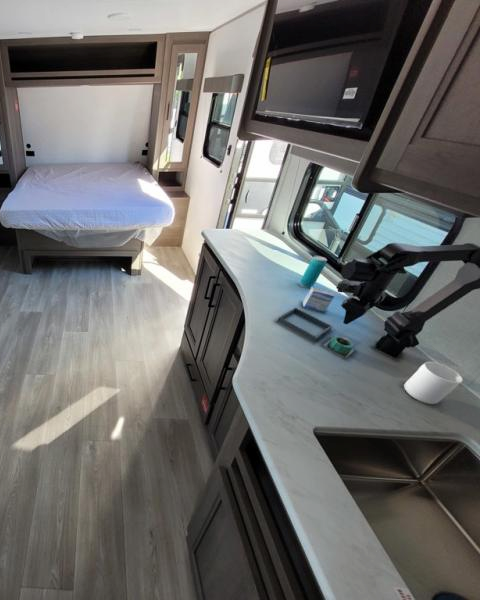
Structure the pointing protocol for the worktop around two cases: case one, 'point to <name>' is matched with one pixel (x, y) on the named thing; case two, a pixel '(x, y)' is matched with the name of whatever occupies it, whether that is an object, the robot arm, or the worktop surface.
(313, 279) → the beverage can
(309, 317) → the tray
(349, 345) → the ring
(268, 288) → the worktop surface
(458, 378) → the mug
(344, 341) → the stand
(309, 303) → the medicine box
